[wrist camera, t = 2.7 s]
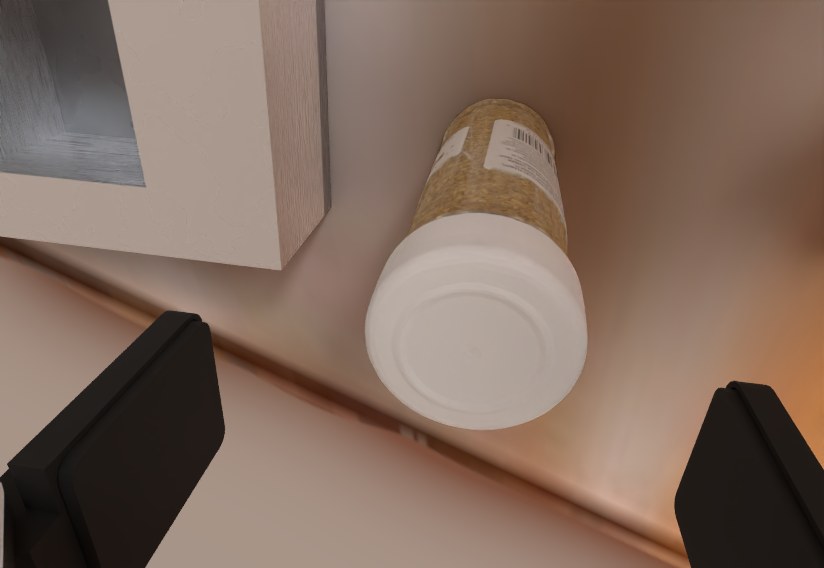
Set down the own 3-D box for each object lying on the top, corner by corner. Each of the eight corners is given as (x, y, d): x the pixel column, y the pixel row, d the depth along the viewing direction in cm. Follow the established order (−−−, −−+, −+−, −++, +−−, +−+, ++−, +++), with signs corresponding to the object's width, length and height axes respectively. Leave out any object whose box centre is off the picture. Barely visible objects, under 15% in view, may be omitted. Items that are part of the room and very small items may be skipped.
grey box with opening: (320, -126, 19) (245, -157, 14) (331, 206, 25) (281, 270, 20) (-95, -138, 21) (-293, -169, 16) (7, 173, 27) (-113, 222, 22)
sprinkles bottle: (423, 123, 23) (319, 293, 11) (534, 75, 21) (545, 215, 10) (467, 222, 24) (415, 457, 13) (572, 185, 23) (620, 414, 11)
